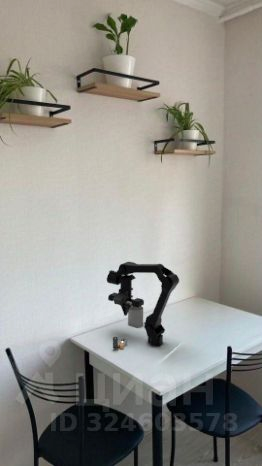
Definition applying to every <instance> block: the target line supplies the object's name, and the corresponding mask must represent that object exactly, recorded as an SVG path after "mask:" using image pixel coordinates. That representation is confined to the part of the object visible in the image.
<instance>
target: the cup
mask: <svg viewBox="0 0 262 466" xmlns="http://www.w3.org/2000/svg"><path fill="white" fill-rule="evenodd" d="M127 315H128V316H127V326H129V327H131V328H136V329H138V328H142V327H144V307H143V305H142V306H140V307H138V308H137V307H133V306H131V307H130V309H129V312H128V314H127Z"/></svg>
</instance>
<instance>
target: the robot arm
mask: <svg viewBox="0 0 262 466" xmlns="http://www.w3.org/2000/svg"><path fill="white" fill-rule="evenodd" d="M135 273H136V274H139V273H142V274H143V273H144V274H155V275H156V277H157V278H158V280H159V282H160V283H161V285H160V287H161V291H160V293H159V297H158V300H157V301H156V304H155V307H154V308H153V311H152V313H150V314H149V315H147V316H146V318H145V321H144V322H143V327H144V330H145V332H146V335H147V343H148V344H149V345H150V346H153V347H161V346H162V345H164V344H163V342H164V341H163V340H164V339H163V338H164V337H163V335H164V333H165V331H166V329H165V327H164V326H163V325H162V320H163V319H162V316H163V313H164V310H165V308H166V306H167V304H168V301H169V298H170V296H171V293H173V291H174V290H175V289H176V288H177V286H178V284H179V283H180V278H179V276H178V275H177V274H175V273H174V272H173V271H172V270H171V269H169V268H168V267H165V265H163V264H162V263H143V264H142V263H141V264H140V263H135V262H133V261H126V262H124V263H123V262H122V263H120V265H119V266H118V269H117V271H115V270H112V269H111V270H109V272H108V274H107V277H106V282H107V283H108V284H111V285H116V286H119V285H120V286H119V287H120V288H118V292H112V293H110V294H108V297H107V300H108V301H109V302H113V303H114V304H115V305H118V306H120V308H121V310H122V313H123V315H124V317H126V316H127V315H128V312H129V309H130V307H131V306H133V307H137V308H138V307H140V306H142V307H143V306H144V304H145V301H144V299H143V298H140V297H136V298H133V297H134V295H133V294H132V291H133V290H134V287H132V285H133V284H132V281H134V280H135V279H136V277H135V275H134V274H135ZM127 317H128V316H127Z"/></svg>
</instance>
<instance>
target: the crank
mask: <svg viewBox="0 0 262 466" xmlns="http://www.w3.org/2000/svg"><path fill="white" fill-rule="evenodd" d="M121 343H122V344H124V347H126V346H127V345H128V339H126V338H120V339H119V337H118V336H113V337H112V349H114V350H117V349H118V348H120V344H121Z"/></svg>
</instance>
